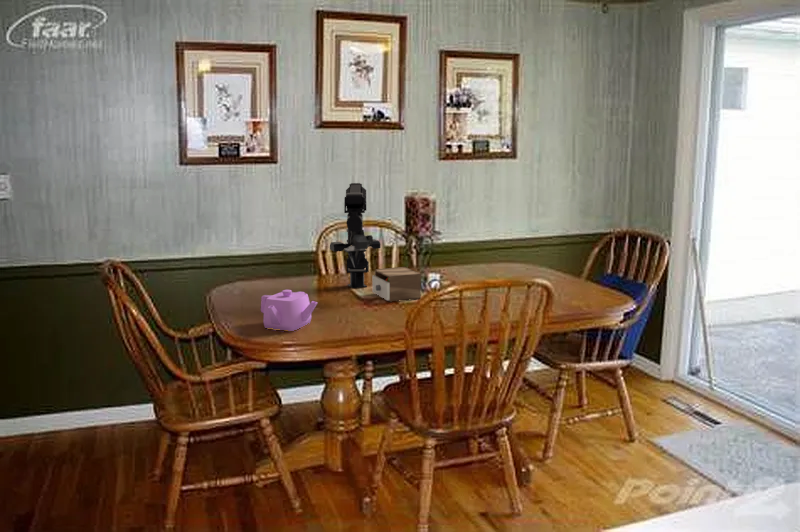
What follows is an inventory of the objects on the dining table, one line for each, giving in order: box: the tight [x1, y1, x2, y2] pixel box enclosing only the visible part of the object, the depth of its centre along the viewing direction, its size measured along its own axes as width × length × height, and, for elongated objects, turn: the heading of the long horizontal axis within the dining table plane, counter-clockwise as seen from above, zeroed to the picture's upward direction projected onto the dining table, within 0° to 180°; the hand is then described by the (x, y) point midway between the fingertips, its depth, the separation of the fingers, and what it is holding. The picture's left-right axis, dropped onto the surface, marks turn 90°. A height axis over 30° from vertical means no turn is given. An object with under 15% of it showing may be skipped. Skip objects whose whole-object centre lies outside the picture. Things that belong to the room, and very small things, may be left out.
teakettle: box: [260, 289, 318, 332], centre depth 242 cm, size 17×17×12 cm
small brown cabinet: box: [374, 266, 422, 303], centre depth 283 cm, size 15×13×10 cm
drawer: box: [371, 274, 390, 301], centre depth 283 cm, size 15×14×7 cm
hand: (355, 267), depth 275 cm, fingers closed
